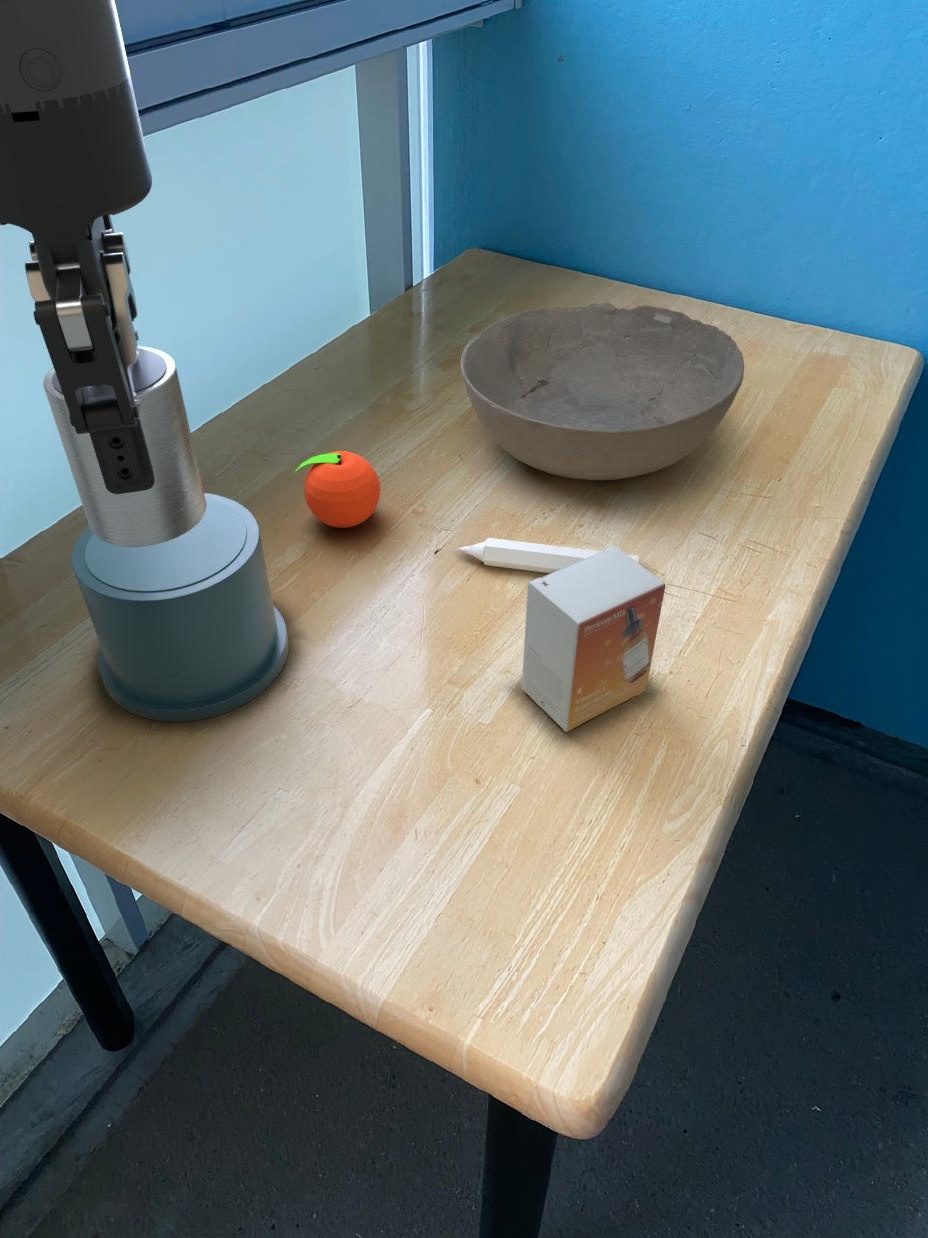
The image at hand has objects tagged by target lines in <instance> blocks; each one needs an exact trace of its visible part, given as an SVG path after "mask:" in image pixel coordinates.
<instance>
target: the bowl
mask: <svg viewBox="0 0 928 1238" xmlns="http://www.w3.org/2000/svg"><path fill="white" fill-rule="evenodd" d="M744 360H745V359H744V356H743V353H742V351H741V350H740V349H739V347H738V345H737V342H736V341H735V340H734V339H732V336H731V335H729V334H728V333H726V332H725V331H724V330H722V329H719V327H718V326H716V325H712V324H707V323H703V322H702V321H701V320H697V319H692V318H691V317H690V316H688V315H687V314H685V313H684V312H680V311H675V310H672V309H669V308H662V307H657V306H651V305H646V304H643V305H639V306H638V305H637V306H636V307H633V308H631V309H628V308H624V307H622V308H617V307H616V305H615V304H612V303H609V302H601V303H599V304H598V303H595V302H594V303H591V304H589V305H587V306H579V307H578V306H577V307H558V306H557V307H542V308H534V309H529V310H524V311H521V312H518V313H514V314H511V315H508V316H506V317H503V318H501V319H499V320H497V321H495V322H494V323H492V324H490V325H488V326H487V327H485V328H484V329H483V330H481V331H480V332H479V333H478V334H476V335H475V336H473V337H472V338H471V339H470V340H469V341H468V342H467V344H466V345H465V347H464V349H463V351H462V353H461V357H460V370H461V375H462V379H463V383H464V386H465V389H466V392H467V395H468V398H469V400H470V403H471V405H472V407H473V409H474V411H475V413H476V415H477V418H478V419H479V421H480V422H481V424H482V426H483V427H484V429H486V431H487V433H488V434H489V435H490V437H491V438H492V439H493V440H494V442H496V443H497V444H498V445H499V446H500V448H501V449H503V450H504V451H505V452H506V453H507V454H509V455H510V456H511V457H512V458H514V459H515V460H517V461H519V462H521V463H523V464H525V465H528V466H529V467H531V468H534V469H536V470H538V471H541V472H544V473H548V474H551V475H554V476H559V477H564V478H568V479H576V480H577V479H578V480H585V481H611V480H613V481H614V480H622V479H629V478H634V477H639V476H643V475H647V474H651V473H654V472H657V471H660V470H662V469H664V468H667V467H669V466H671V465H674V464H676V463H677V462H679V461H681V460H682V459H684V458H685V457H687V456H689V455H690V454H691V453H692V452H694V451H695V450H696V449H697V448H699V447H700V446H701V445H702V444H703V443H704V442H705V441H706V440H707V439H708V438H709V437H710V436H711V435H712V434H713V433H714V432H715V430H716V429H717V427H719V425H720V423H721V422H722V421H723V419H724V418H725V416H726V414H727V413H728V411H729V410H730V409H731V406H732V405H733V403H734V401H735V399H736V396H737V395H738V392H739V390H740V388H741V386H742V383H743V380H744V374H745V361H744Z"/></svg>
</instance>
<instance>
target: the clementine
mask: <svg viewBox="0 0 928 1238" xmlns="http://www.w3.org/2000/svg"><path fill="white" fill-rule="evenodd" d="M309 465H311V466H310V467H309V469H308V471H307V473H306V475H305V478H304V482H303V483H304V484H303V485H304V486H303V487H304V489H303V491H304V493H303V496H304V498H305V502H306V505H307V507H308V509H309V510H310V512H311V513H312V514H313V516H314V517H315V518H316V519H318V520H319V521H320V522H322V523H323V524H325V525H327V526H330V527H334V528H340V529H341V528H342V529H345V528H350V527H355V526H358V525H360V524H362V523H364V522H365V521H366V520H368V519H369V518H370V516H372V514H374V512H375V510H376V509H377V506H378V503H379V501H380V498H381V484H380V479H379V475H378V474H377V472H376V470H375V469H374V467H373V466H372V464H371V463H370V462H368V461H367V460H366V459H365V458H364V457H363V456H361V455H359V454H356V453H353V452H351V451H345V450H337V451H332V452H329V453H322V454H319V455H315V456H312V457H310V458H309V459H307V460H304V461H303V462H302V463H300V464H299V465H298V467H297V468H296V469H295V471H294V473H293V475H292V477H291V480H294V477H295V474H296V473H297V472H298V471H299V470H300V469H301V468H303V467H306V466H309Z"/></svg>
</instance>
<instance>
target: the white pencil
mask: <svg viewBox="0 0 928 1238" xmlns="http://www.w3.org/2000/svg"><path fill="white" fill-rule="evenodd" d="M454 549H455V550H458V551H460V552H463V553H465V554H467V555H471V556H472V557H474V558H475V559H478V560H479V561H481V562H483V564H484V566H488V567H489V566H490V567H497V568H504V569H511V570H512V569H513V570H521V571H527V572H528V571H529V572H535V573H543V574H545V573H546V574H551V573H553V572H555V571H558V570H560V569H562V568H565V567H567V566H570V565H572V564H574V563H576V562H579V561H581V560H583V559H586V558H588V557H590V556H592V555H595V554H597V553H599V552H601V551H602V550H594V549H584V548H577V547H568V546H560V545H551V544H544V543H534V542H527V541H520V540H510V539H501V538H493V537H486V540H484V541H481V542H478V543H474V544H471V545H466V546H461V547H460V546H459V547H455V548H454ZM627 555H628V556H630V557H631V558H632V559H634V560H635V561H636V562H638V563H639V560H640V555H633V554H627Z"/></svg>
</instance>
